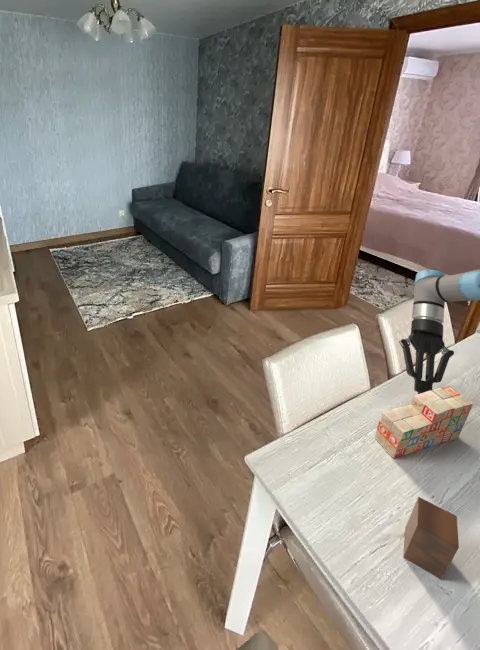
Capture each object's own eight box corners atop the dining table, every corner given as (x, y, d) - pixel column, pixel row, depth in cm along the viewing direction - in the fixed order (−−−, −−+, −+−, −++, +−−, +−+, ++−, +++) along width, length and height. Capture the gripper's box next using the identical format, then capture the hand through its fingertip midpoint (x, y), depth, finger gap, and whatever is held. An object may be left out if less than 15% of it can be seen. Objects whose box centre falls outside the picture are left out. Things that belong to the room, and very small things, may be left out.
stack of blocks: (393, 459, 84) (406, 423, 79) (373, 437, 90) (384, 402, 85) (458, 438, 90) (474, 403, 85) (435, 418, 95) (449, 384, 91)
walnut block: (440, 547, 67) (456, 515, 64) (441, 580, 63) (459, 547, 59) (405, 528, 71) (418, 496, 67) (403, 557, 66) (417, 525, 62)
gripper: (449, 330, 102) (445, 414, 94) (398, 319, 107) (390, 398, 99) (459, 324, 95) (457, 414, 87) (405, 313, 100) (397, 397, 92)
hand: (422, 405), depth 93 cm, fingers closed
